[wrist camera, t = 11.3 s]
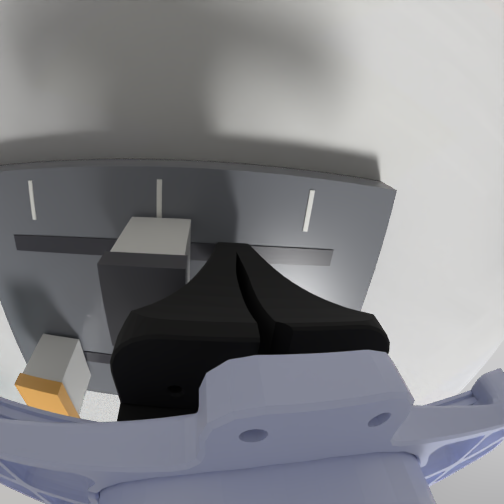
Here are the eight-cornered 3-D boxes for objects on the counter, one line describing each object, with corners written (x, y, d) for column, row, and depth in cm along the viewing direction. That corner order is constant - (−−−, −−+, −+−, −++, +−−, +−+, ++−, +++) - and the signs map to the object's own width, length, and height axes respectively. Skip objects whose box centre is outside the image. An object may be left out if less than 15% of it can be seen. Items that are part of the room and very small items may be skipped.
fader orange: (93, 376, 16) (77, 430, 12) (56, 370, 15) (37, 420, 12) (80, 338, 14) (57, 395, 11) (41, 332, 14) (14, 384, 10)
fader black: (191, 286, 13) (186, 351, 10) (134, 282, 13) (112, 345, 9) (193, 216, 12) (185, 269, 8) (129, 214, 12) (97, 264, 8)
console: (319, 380, 20) (324, 397, 19) (41, 364, 17) (34, 380, 16) (381, 181, 14) (397, 190, 12) (-12, 166, 11) (-29, 174, 10)
